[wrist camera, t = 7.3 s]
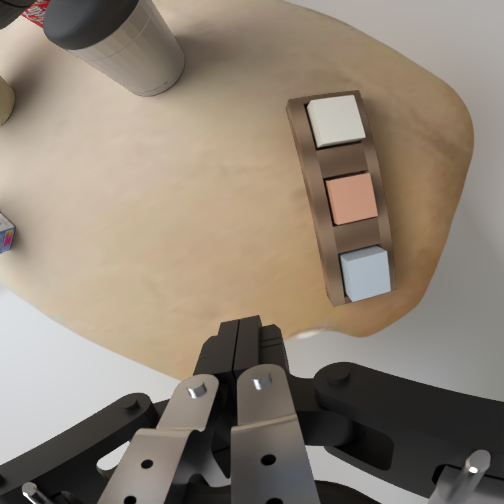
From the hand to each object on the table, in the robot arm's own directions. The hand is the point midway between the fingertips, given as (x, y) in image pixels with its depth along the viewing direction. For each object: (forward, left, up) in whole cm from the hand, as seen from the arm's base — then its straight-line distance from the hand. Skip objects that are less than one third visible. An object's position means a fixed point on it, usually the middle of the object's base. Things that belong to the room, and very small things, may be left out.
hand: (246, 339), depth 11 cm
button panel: (-2, +12, -27) cm, 30 cm away
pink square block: (-2, +12, -25) cm, 28 cm away
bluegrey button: (+7, +12, -24) cm, 28 cm away
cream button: (-11, +12, -24) cm, 29 cm away
